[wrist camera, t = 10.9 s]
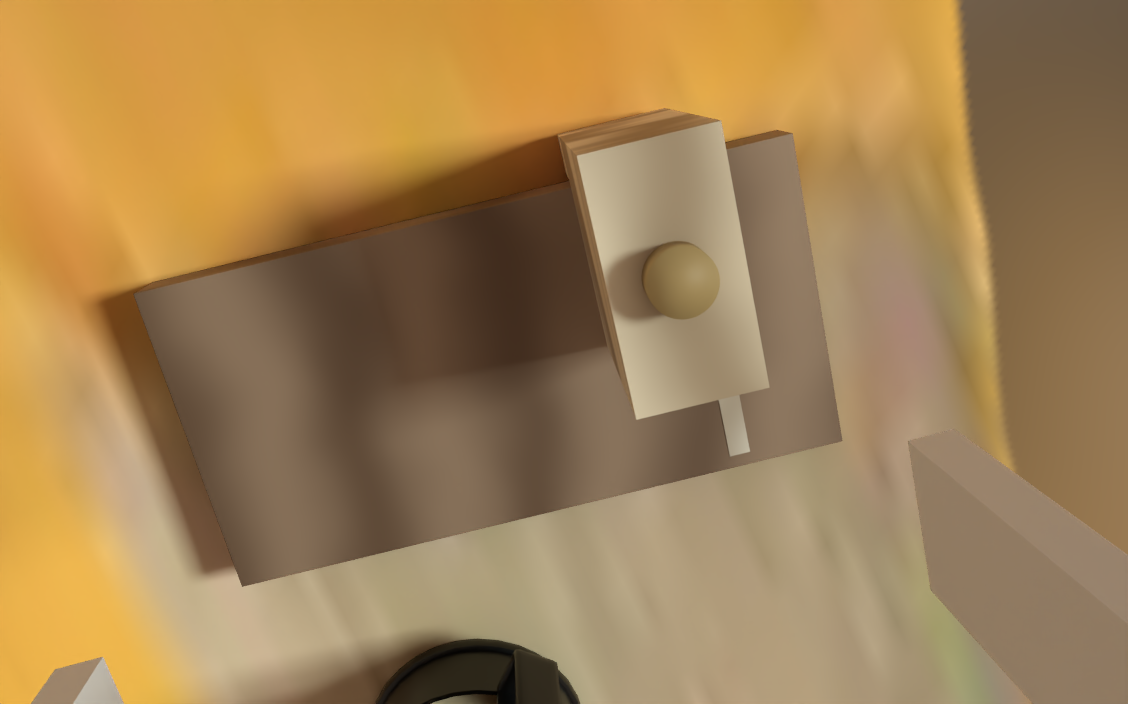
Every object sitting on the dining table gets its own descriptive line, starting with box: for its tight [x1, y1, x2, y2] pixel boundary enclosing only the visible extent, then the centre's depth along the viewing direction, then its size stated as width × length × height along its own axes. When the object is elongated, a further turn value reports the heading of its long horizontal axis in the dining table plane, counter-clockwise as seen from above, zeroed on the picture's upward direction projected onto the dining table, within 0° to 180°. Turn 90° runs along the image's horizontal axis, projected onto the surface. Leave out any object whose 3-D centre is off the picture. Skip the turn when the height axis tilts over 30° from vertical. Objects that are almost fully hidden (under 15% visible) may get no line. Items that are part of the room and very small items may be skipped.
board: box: [134, 130, 842, 587], centre depth 37 cm, size 24×12×2 cm, turn 103°
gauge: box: [557, 108, 770, 420], centre depth 31 cm, size 4×8×10 cm, turn 13°
